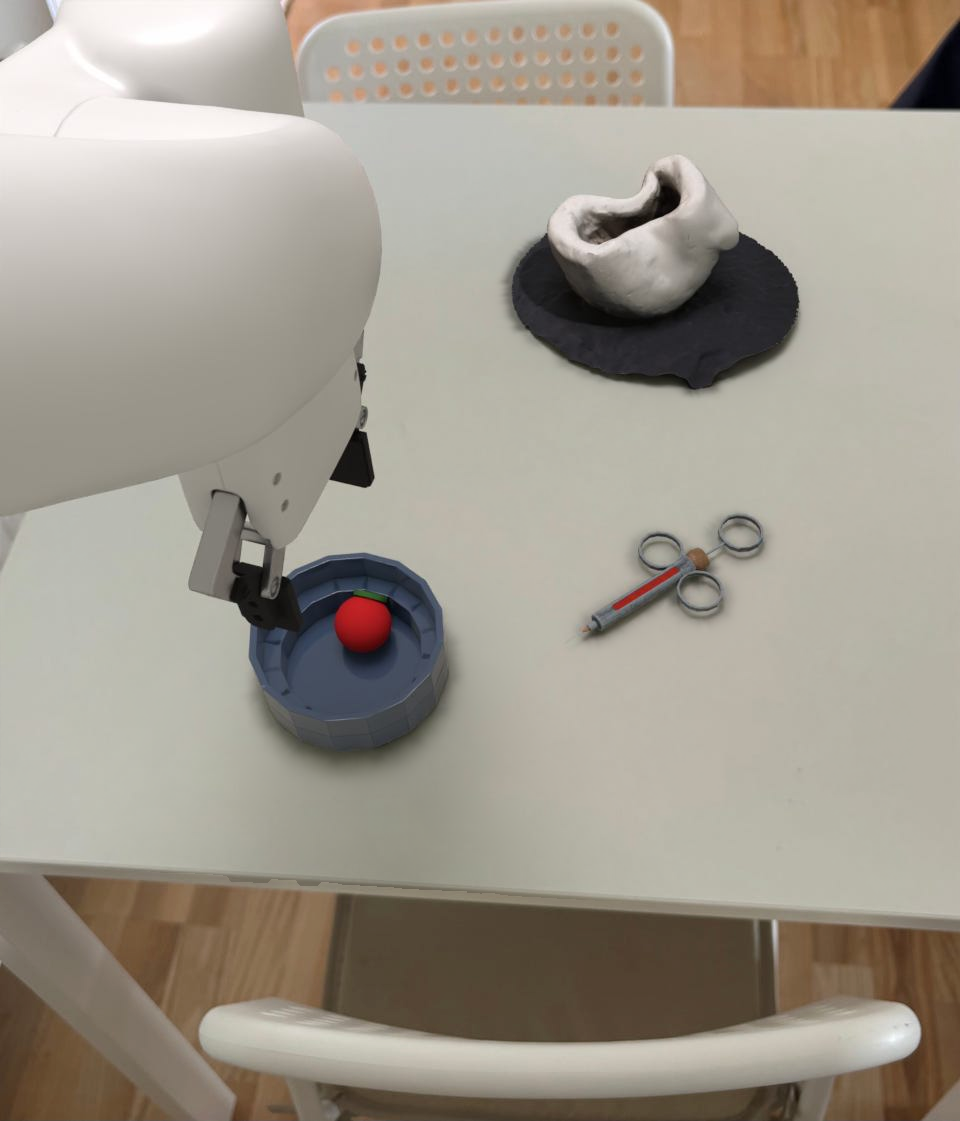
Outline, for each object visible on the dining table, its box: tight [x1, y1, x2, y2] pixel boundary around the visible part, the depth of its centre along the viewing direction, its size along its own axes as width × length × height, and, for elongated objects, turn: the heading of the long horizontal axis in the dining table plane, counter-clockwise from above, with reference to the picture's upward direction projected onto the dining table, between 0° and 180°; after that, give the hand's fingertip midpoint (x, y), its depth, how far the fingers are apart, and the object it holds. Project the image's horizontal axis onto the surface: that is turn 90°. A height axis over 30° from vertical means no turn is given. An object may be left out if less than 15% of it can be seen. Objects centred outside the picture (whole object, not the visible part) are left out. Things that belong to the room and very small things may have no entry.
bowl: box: [248, 552, 449, 753], centre depth 76 cm, size 13×13×5 cm
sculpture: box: [510, 153, 801, 390], centre depth 94 cm, size 23×25×13 cm
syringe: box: [563, 513, 764, 644], centre depth 80 cm, size 8×18×2 cm, turn 124°
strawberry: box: [334, 589, 392, 653], centre depth 77 cm, size 4×4×4 cm
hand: (312, 546), depth 58 cm, fingers open, 9 cm apart
